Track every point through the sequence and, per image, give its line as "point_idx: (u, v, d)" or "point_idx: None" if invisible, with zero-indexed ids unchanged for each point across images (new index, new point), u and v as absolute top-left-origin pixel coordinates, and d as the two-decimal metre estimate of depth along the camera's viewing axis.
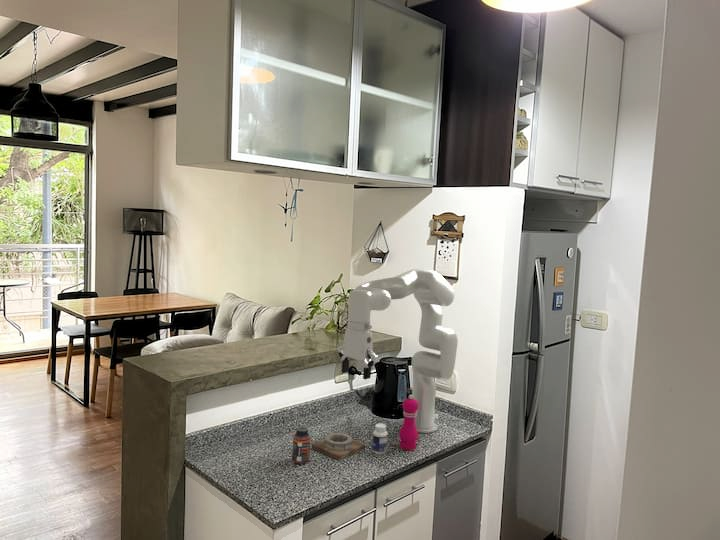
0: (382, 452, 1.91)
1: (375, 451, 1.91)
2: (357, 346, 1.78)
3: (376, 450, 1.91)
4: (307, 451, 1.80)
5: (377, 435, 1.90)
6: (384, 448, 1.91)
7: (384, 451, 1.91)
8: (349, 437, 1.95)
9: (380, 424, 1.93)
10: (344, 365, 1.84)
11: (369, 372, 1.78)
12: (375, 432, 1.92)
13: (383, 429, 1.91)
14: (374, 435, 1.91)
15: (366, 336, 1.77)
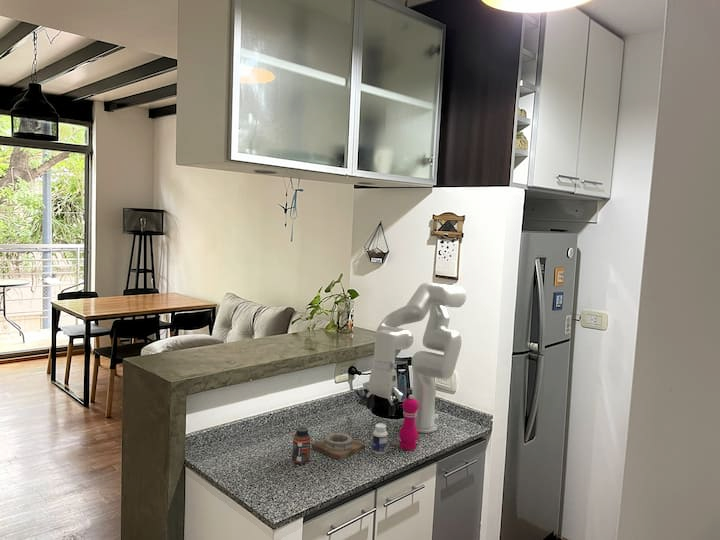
0: (382, 452, 1.91)
1: (375, 451, 1.91)
2: (383, 384, 1.88)
3: (376, 450, 1.91)
4: (307, 451, 1.80)
5: (377, 435, 1.90)
6: (384, 448, 1.91)
7: (384, 451, 1.91)
8: (349, 437, 1.95)
9: (380, 424, 1.93)
10: (369, 401, 1.94)
11: (394, 409, 1.88)
12: (375, 432, 1.92)
13: (383, 429, 1.91)
14: (374, 435, 1.91)
15: (391, 375, 1.87)
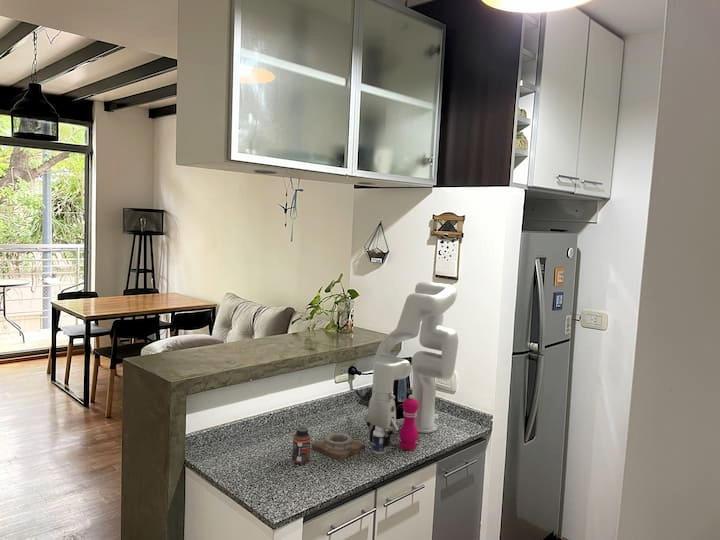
0: (382, 452, 1.91)
1: (375, 451, 1.91)
2: (381, 415, 1.89)
3: (376, 450, 1.91)
4: (307, 451, 1.80)
5: (377, 435, 1.90)
6: (384, 448, 1.91)
7: (384, 451, 1.91)
8: (349, 437, 1.95)
9: None
10: (372, 435, 1.94)
11: (389, 440, 1.90)
12: (375, 432, 1.92)
13: (383, 429, 1.91)
14: (374, 435, 1.91)
15: (390, 406, 1.88)
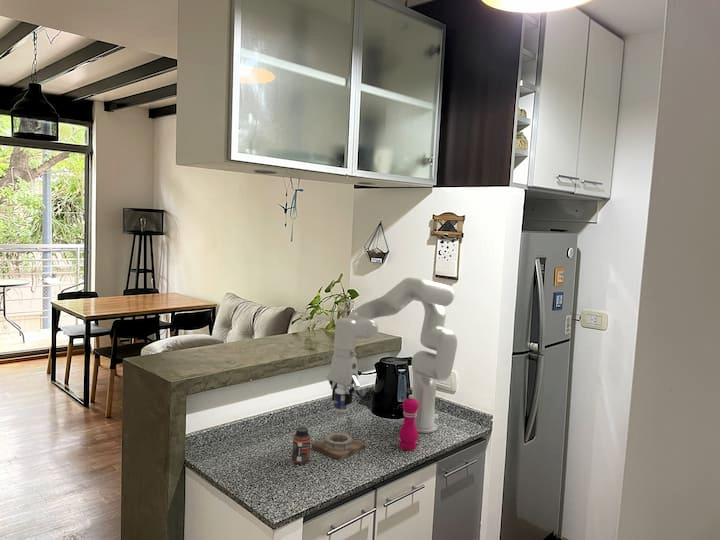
0: (344, 410, 1.90)
1: (337, 409, 1.91)
2: (343, 372, 1.88)
3: (337, 408, 1.90)
4: (307, 451, 1.80)
5: (339, 393, 1.90)
6: (346, 406, 1.91)
7: (346, 409, 1.91)
8: (349, 437, 1.95)
9: None
10: (334, 393, 1.93)
11: (350, 398, 1.90)
12: (337, 390, 1.91)
13: None
14: (336, 393, 1.91)
15: (351, 363, 1.88)
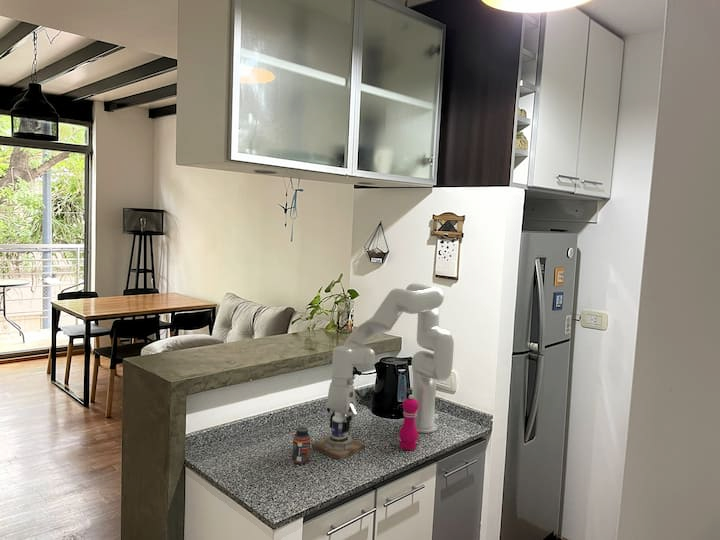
0: (341, 437, 1.91)
1: (334, 436, 1.92)
2: (340, 400, 1.89)
3: (335, 435, 1.91)
4: (307, 451, 1.80)
5: (336, 421, 1.91)
6: (343, 433, 1.92)
7: (343, 436, 1.92)
8: (349, 437, 1.95)
9: None
10: None
11: (348, 426, 1.91)
12: (334, 417, 1.92)
13: (342, 414, 1.91)
14: (333, 420, 1.92)
15: (349, 391, 1.89)
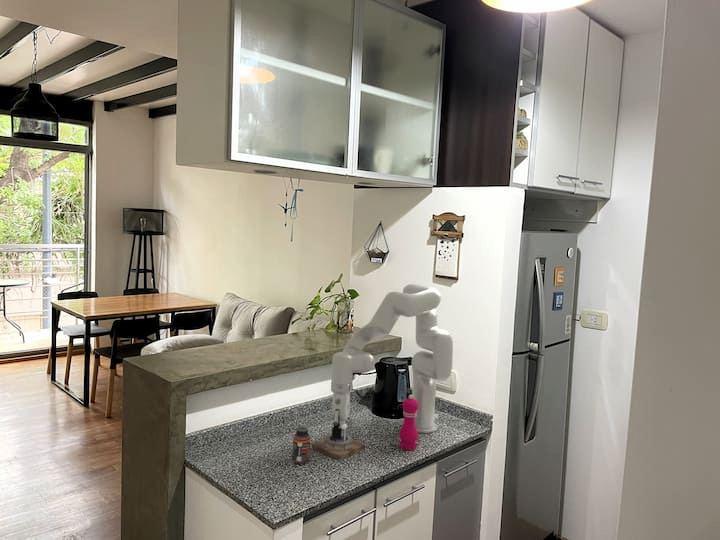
0: None
1: None
2: None
3: None
4: (307, 451, 1.80)
5: (332, 426, 1.93)
6: (336, 441, 1.92)
7: None
8: (349, 437, 1.95)
9: None
10: None
11: (336, 433, 1.89)
12: None
13: None
14: None
15: (335, 397, 1.88)
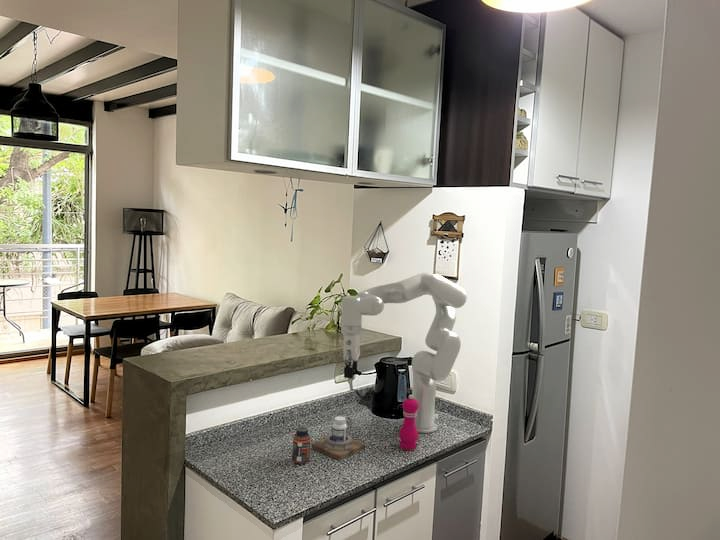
0: None
1: None
2: None
3: None
4: (307, 451, 1.80)
5: (332, 426, 1.93)
6: (336, 441, 1.92)
7: None
8: (349, 437, 1.95)
9: (342, 417, 1.94)
10: (350, 363, 2.04)
11: (348, 372, 1.94)
12: None
13: (337, 421, 1.92)
14: None
15: (346, 338, 1.94)
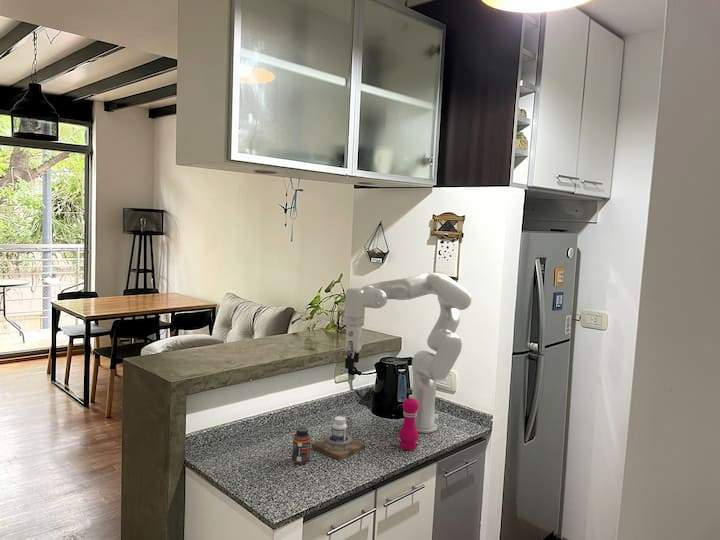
0: None
1: None
2: None
3: None
4: (307, 451, 1.80)
5: (332, 426, 1.93)
6: (336, 441, 1.92)
7: None
8: (349, 437, 1.95)
9: (342, 417, 1.94)
10: None
11: (349, 363, 1.96)
12: None
13: (337, 421, 1.92)
14: None
15: (348, 329, 1.96)
